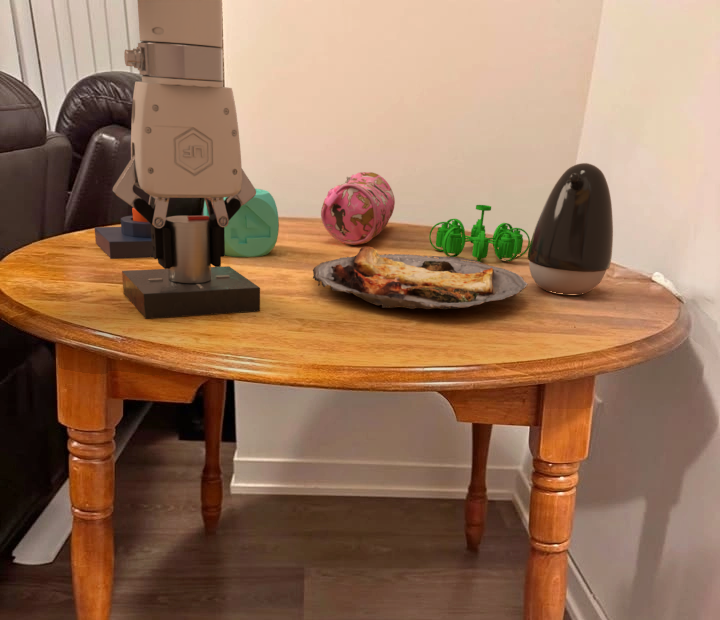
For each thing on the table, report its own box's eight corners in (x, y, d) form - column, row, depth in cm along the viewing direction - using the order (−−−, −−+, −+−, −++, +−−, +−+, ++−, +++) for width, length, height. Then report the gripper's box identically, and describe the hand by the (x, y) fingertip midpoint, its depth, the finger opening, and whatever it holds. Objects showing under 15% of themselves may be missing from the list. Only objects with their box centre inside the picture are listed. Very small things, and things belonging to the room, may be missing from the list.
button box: (110, 259, 98) (108, 226, 97) (95, 243, 106) (93, 213, 104) (203, 256, 104) (202, 225, 102) (182, 241, 111) (181, 212, 109)
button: (136, 224, 101) (135, 210, 100) (130, 219, 104) (129, 206, 103) (164, 224, 103) (163, 210, 102) (157, 219, 105) (156, 206, 105)
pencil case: (340, 222, 134) (343, 168, 130) (394, 227, 134) (398, 172, 129) (317, 245, 116) (319, 181, 111) (379, 250, 115) (383, 187, 111)
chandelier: (522, 248, 123) (530, 203, 120) (532, 268, 110) (540, 218, 107) (428, 240, 124) (433, 195, 121) (426, 259, 111) (432, 209, 108)
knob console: (145, 319, 77) (143, 292, 75) (123, 293, 84) (121, 269, 83) (260, 311, 82) (260, 285, 80) (229, 288, 89) (229, 264, 88)
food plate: (277, 296, 88) (277, 264, 86) (361, 262, 107) (362, 235, 105) (491, 335, 79) (496, 301, 78) (540, 290, 98) (545, 262, 97)
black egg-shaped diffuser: (511, 291, 97) (532, 160, 90) (535, 277, 105) (555, 156, 98) (593, 305, 93) (621, 170, 86) (611, 289, 101) (637, 165, 94)
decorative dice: (278, 256, 106) (279, 195, 103) (223, 259, 103) (222, 195, 99) (257, 245, 113) (257, 186, 109) (203, 246, 109) (202, 186, 105)
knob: (174, 284, 79) (171, 220, 76) (163, 274, 83) (160, 212, 80) (216, 282, 81) (215, 219, 78) (204, 272, 84) (202, 212, 82)
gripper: (96, 62, 66) (114, 277, 75) (281, 75, 73) (278, 269, 82) (81, 60, 72) (99, 260, 80) (253, 73, 79) (253, 254, 88)
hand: (189, 263), depth 81 cm, fingers closed on knob, 4 cm apart
